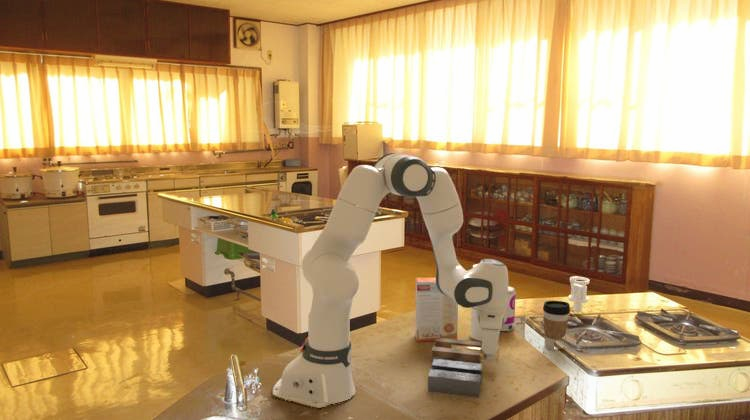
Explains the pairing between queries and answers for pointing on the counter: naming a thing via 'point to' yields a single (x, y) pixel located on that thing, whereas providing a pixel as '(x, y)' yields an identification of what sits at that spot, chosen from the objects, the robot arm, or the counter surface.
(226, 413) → the counter surface
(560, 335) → the coffee cup
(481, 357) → the brass axle
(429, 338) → the cracker box
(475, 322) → the cylindrical container
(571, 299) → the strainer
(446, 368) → the iron V-block
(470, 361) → the walnut bearing block
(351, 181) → the robot arm
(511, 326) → the supplement can
